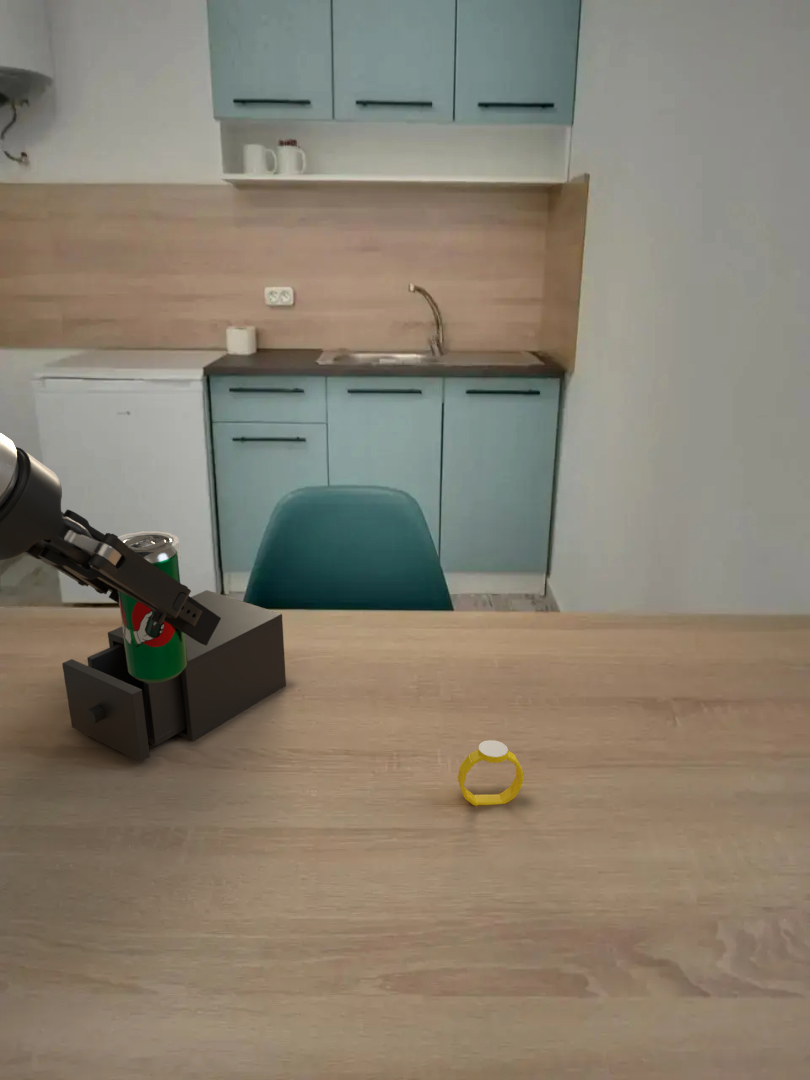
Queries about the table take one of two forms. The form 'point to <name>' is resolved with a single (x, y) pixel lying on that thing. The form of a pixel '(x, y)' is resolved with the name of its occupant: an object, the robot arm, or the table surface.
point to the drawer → (122, 704)
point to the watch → (493, 754)
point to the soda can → (147, 642)
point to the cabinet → (229, 663)
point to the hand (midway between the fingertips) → (188, 622)
